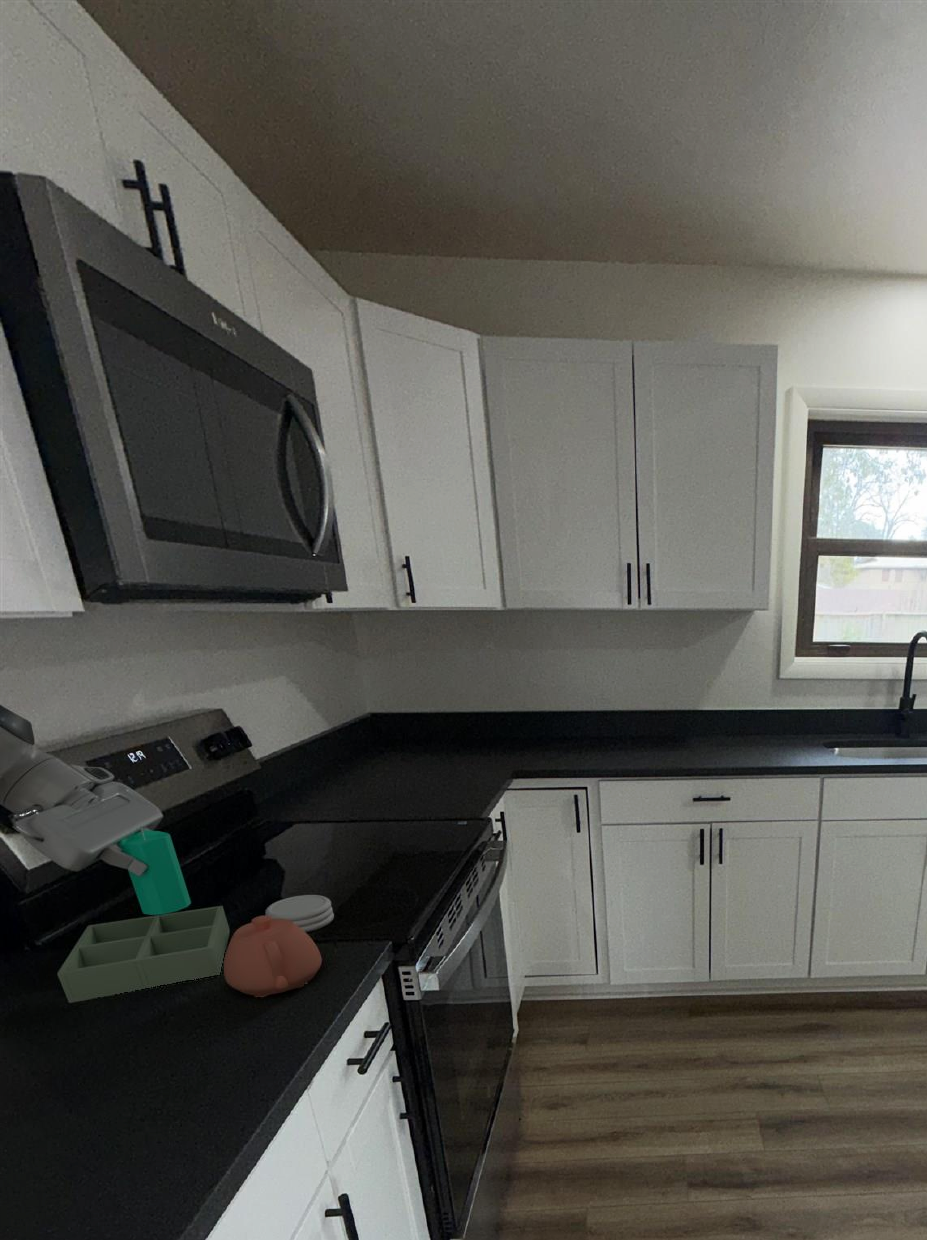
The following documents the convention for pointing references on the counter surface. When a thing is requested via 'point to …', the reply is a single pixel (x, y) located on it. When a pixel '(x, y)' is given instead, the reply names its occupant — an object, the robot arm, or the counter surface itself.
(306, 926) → the grey round flat stack
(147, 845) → the candle
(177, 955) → the grid
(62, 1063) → the counter surface
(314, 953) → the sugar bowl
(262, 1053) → the counter surface
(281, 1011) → the counter surface
